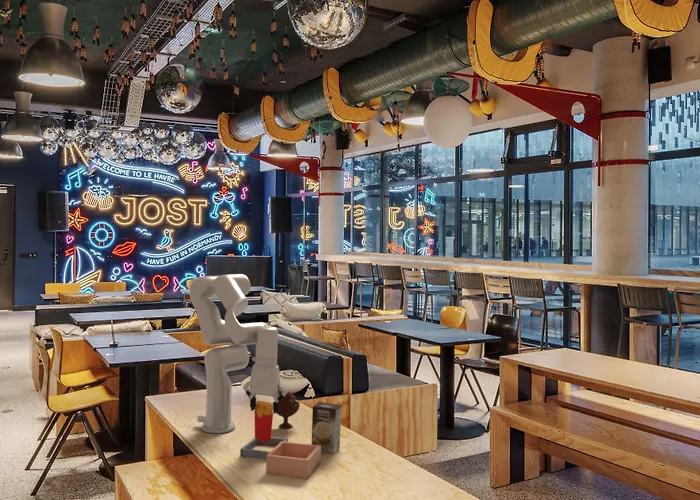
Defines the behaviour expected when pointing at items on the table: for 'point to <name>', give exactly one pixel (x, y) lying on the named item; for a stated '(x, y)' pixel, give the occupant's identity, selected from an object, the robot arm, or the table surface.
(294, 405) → the ice cream bowl
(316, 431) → the coffee box
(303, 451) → the pink open box
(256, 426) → the french fries
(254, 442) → the gray rectangular frame
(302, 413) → the table surface
